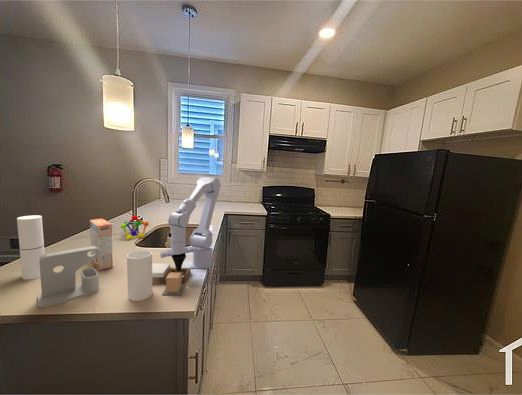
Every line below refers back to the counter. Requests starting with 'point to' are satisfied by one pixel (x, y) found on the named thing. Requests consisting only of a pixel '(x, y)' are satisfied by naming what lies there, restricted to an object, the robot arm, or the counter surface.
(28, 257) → the cylindrical container
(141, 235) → the educational toy
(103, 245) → the cracker box
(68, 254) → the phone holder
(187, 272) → the wooden grid frame
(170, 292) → the pad
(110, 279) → the counter surface
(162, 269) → the cover
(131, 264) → the cup
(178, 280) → the block
